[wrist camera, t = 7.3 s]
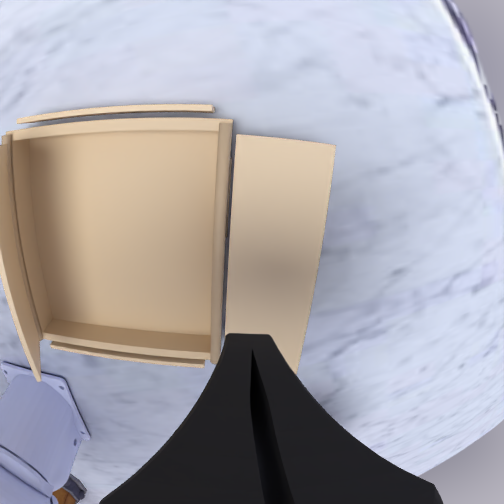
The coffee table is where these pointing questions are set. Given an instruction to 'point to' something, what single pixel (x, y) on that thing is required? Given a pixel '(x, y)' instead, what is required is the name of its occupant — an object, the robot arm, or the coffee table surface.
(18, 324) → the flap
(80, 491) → the mug
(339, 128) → the coffee table surface
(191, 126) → the carton
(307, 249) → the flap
